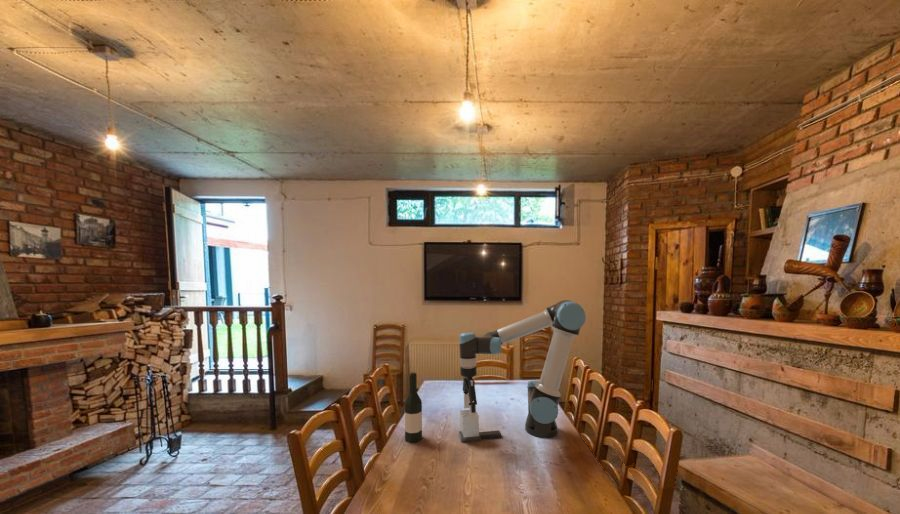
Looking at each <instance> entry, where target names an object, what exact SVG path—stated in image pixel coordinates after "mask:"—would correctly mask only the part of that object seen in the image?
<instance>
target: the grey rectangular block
mask: <svg viewBox="0 0 900 514" xmlns="http://www.w3.org/2000/svg"><path fill="white" fill-rule="evenodd" d="M459 416H460V417H459V418H460V419H459V421H460V425H459V426H460V431H461V433H462V435H463V437H474V436H479V432H480V424H479V423H480V422H479V419H480V416H479V413H478V412H477V411H476V420H470V409H464V410H460V411H459Z"/></svg>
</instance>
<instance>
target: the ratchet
mask: <svg viewBox="0 0 900 514" xmlns="http://www.w3.org/2000/svg"><path fill="white" fill-rule="evenodd" d="M458 437H459V440H460V443H468V442H469V443H470V442H477V441H479V442H480V441H481V440H490V439H491V440H492V439H500V438H502V433H501V431H500V430H499V429H498V430H491V431H490V430H489V431H488V430H487V431H479V436H474V437H463V435H462V433H461V430H459V431H458Z"/></svg>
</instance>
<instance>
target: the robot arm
mask: <svg viewBox="0 0 900 514" xmlns="http://www.w3.org/2000/svg"><path fill="white" fill-rule="evenodd" d="M586 316H587V315H586V311H585V310H584V308H583V307H582V305H580V303H578V302H575V301H572V300H561V301H559V302H556V303H554V304H552V305H551V306H548V307H546V308H545V309H544V311H541V312H538V313H536V314H534V315H531V316H529V317H526V318H524V319H521V320H518V321H516V322H514V323H511V324H508V325H506V326H504V327H500V328H498V329H496V330H493V331H489V332H487V333H485V334H484V335H483V337H479V336H476V334H475V332H468V331H467V332H462V333H460V334H459V357H460V358H459V360H458V362H459V365H460V372H459V373H460V376H461V377H463V380H462V391H463V408H464V409H469V410H470V420H476V412H477V405H478V402H477V400H478V399H477V394H476V386H475V383H476V382H475V380H474V379H473V377H475V376H477V374H478V373H477V367H476V366H477V354H478V355H500V354H501V353H502V345H504V344H506V343H510V342H512V341H515V340H518V339H520V338H523V337H525V336H527V335H531V334H534V333H536V332H539V331H541V330H543V329H546V328H548V327H551V328H552V330H553V334H552V336H551V341H550V344H549V348H548V351H547V354H546V359H545V361H544V364H543V368H542V372H541V374H540V378H539V380H537V379H536V380H535V379H534V380H529V381H528V382H527V386H526V388H527V403H528V405H527V406H528V407H527V408H528V410H527V411H528V413H527V417H526V420H525V424H524V427H525V428H524V429H525V432H527V433H528V434H530V435H531V436H534V437H538V438H552V437H554V436H557V435H558V432H559V431H558V429H559V428H558V425H557V422H556V419H557V418H558V415H559V403H560V400H561V396H562V395H561V392H560V391H559V390H560V386H561V382H562V379H563V375H564V374H565V369H566V365H567V361H568V360H569V359H568V358H569V355H570V352H571V348H572V344H573V341H574V338H576V337H578V336H579V335H580V332H581V328H582V327H583V326H584V324H585V323H586V321H587V320H586V319H587V317H586Z"/></svg>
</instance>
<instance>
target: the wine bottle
mask: <svg viewBox="0 0 900 514" xmlns="http://www.w3.org/2000/svg"><path fill="white" fill-rule="evenodd" d="M417 376H418V375H417V373H416V371H410V373H409V393H408V394H407V396H406V398H405V400H404V441H405V442H407V443H410V444H412V443H418V442H421V441H422V440H423V402H422V399H421V397H420V395H419V393H418V391H417V387H418V385H417V382H418V380H417Z"/></svg>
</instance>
